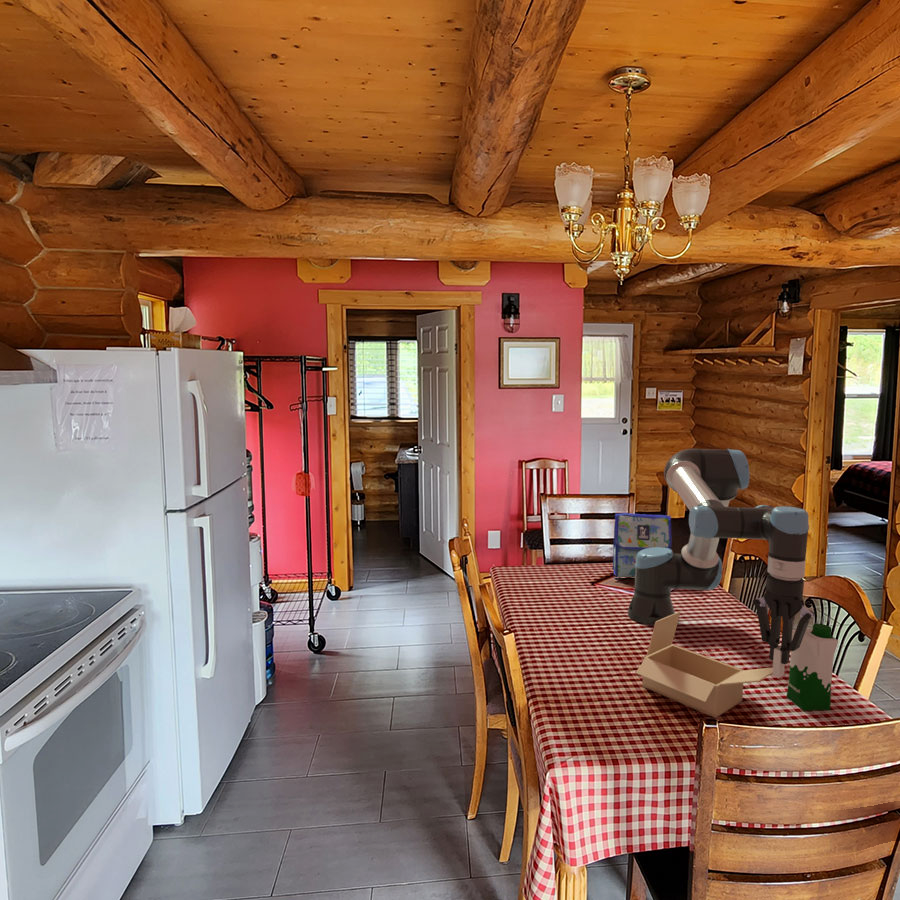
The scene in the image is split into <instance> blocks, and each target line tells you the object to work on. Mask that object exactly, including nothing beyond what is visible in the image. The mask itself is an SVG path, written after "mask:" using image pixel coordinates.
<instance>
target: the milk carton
mask: <svg viewBox="0 0 900 900" xmlns="http://www.w3.org/2000/svg"><path fill="white" fill-rule="evenodd" d="M795 631H796V629H792V639H793V636H794V634H795ZM838 644H839V639H836V638H835V637H834V636H833V635H832V627H831V626H829V625H827V624H824V623H823V624H822V623H814V624H812V628H807V629H806V631H805V634H804V637H803V639H802V642H801V645H800V647H799V648H798V649H796V650H795V651H790V657H789V673H788V675H789V676H788V684H787V693H786V698H787V699H788V700H789V701H791V702H792V703H793V704H795V706H797V707H798V708H799V709H801V710H802V711H803V712H804V711H805V712H808V711H811V712H812V711H831V710H832V709H831V708H832V707H831V704H832V701H831V700H832V690H831V689H832V681H833V668H834V667H833V665H834V656H835V653H836V650H837V647H838Z"/></svg>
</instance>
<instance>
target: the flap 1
mask: <svg viewBox="0 0 900 900" xmlns="http://www.w3.org/2000/svg"><path fill="white" fill-rule="evenodd" d="M680 617H681V611H677V612H675V614H672V615H670V616H667V617H665V618H662V619H660V620H657V621H656V622H655V625H653V630H652V633H651V638H650V642H649V644H648V649H647V653H646V656H648V655H650V654H652V653H654V652H657V651H659V650H661V649H663V648H665V647H667V646H670V645H673V642H674V639H675V634H676V629H677V627H678V623H679V618H680Z"/></svg>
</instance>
